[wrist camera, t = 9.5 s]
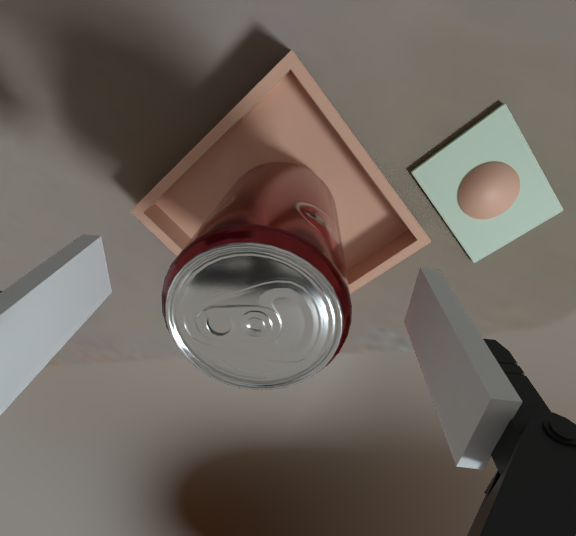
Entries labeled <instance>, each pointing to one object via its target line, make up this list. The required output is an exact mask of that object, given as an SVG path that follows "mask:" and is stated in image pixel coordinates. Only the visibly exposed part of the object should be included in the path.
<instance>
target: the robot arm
mask: <svg viewBox="0 0 576 536" xmlns="http://www.w3.org/2000/svg"><path fill="white" fill-rule="evenodd" d="M111 293H112V290H111V285H110V280H109V275H108V270H107V265H106V259H105V254H104V249H103V244H102V239H101V236H94V235H84V234H83V235H81V236H80V237H78V238H77V239H76V240H74V241H73V242H71V243H70V244H69V245H67V246H66V247H64V248H63V249H62V250H60V251H59V252H57V253H56V254H55V255H53V256H52V257H50V258H49V259H47V260H46V261H45V262H43V263H42V264H40V265H39V266H38V267H36V268H35V269H33V270H32V271H31V272H29V273H28V274H26V275H25V276H24V277H22V278H21V279H19V280H18V281H17V282H15V283H14V284H12V285H11V286H10V287H8V288H7V289H5V290H4V291H0V415H1V414H2V413H3V412H4V411H5V410H6V408H7V407H8V406H9V405H10V404H11V403H12V402H13V401H14V399H16V397H17V396H18V395H19V394H20V393H21V392H22V391H23V390H24V389H25V387H26V386H27V385H28V384H29V383H30V382H31V381H32V380H33V379H34V378H35V376H36V375H37V374H38V373H39V372H40V371H41V370H42V369H43V368H44V367H45V365H46V364H47V363H48V362H49V361H50V360H51V359H52V358H53V357H54V356H55V354H56V353H57V352H58V351H59V350H60V349H61V348H62V347H63V346H64V344H65V343H66V342H67V341H68V340H69V339H70V338H71V337H72V336H73V335H74V333H75V332H76V331H77V330H78V329H79V328H80V327H81V326H82V325H83V324H84V322H85V321H86V320H87V319H88V318H89V317H90V316H91V315H92V314H93V313H94V311H95V310H96V309H97V308H98V307H99V306H100V305H101V304H102V303H103V301H104V300H105V299H106V298H107V297H108V296H109V295H110V294H111ZM404 322H405V325H406V328H407V331H408V333H409V336H410V339H411V342H412V345H413V347H414V350H415V353H416V356H417V358H418V361H419V364H420V366H421V370H422V372H423V375H424V378H425V381H426V383H427V386H428V389H429V392H430V395H431V397H432V400H433V403H434V406H435V408H436V411H437V414H438V417H439V420H440V422H441V425H442V428H443V431H444V433H445V436H446V439H447V442H448V445H449V447H450V450H451V453H452V456H453V458H454V461H455V464H456V466H457V467H467V468H475V469H484V468H485V466H486V465H487V463H488V461H489V459H490V458H491V456H492V458H493V460H494V462H495V464H496V467H497V469H498V471H497V473H496V474H495V476H494V478H493V479H492V481H491V483H490V484H489V486H488V487H487V490H486V491H485V494H486V495H485V498H484V500H483V502H482V504H481V506H480V509H479V511H478V513H477V515H476V517H475V519H474V522H473V524H472V526H471V528H470V531H469V533H468V535H467V536H575V535H576V424H574V423H573V422H571V421H570V420H568V419H566V418H565V417H562V416H560V415H558V414H555V413H552V412H551V411H550V410H549V409H548V407H547V405H546V404H545V402H544V401H543V400H542V398H541V397H540V395H539V394H538V392H537V391H536V389H535V388H534V387H533V385H532V384H531V382H530V381H529V379H528V378H527V377H526V376H524V372H523V371H522V369H521V368H520V367H519V366H517V362H516V361H515V359H514V358H513V356H512V355H511V353H510V352H509V351H508V350H507V349H506V348H504V347H503V346H502V345H501V344H500V343H498V342H497V341H496V340H490V339H483V338H482V337H481V335H480V333H479V332H478V330H477V329H476V327H475V325H474V324H473V322H472V321H471V319H470V317H469V316H468V314H467V313H466V311H465V310H464V308H463V306H462V305H461V303H460V302H459V300H458V298H457V297H456V295H455V294H454V292H453V290H452V289H451V287H450V286H449V284H448V283H447V281H446V279H445V278H444V276H443V275H442V273H441V271H440V270H439V269H431V268H420V270H419V273H418V277H417V280H416V284H415V287H414V290H413V294H412V297H411V301H410V304H409V307H408V311H407V314H406V318H405V321H404Z"/></svg>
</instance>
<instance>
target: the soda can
mask: <svg viewBox="0 0 576 536" xmlns="http://www.w3.org/2000/svg"><path fill="white" fill-rule="evenodd" d="M162 312H163V316H164V319H165V323H166V327H167V329H168V331H169V333H170V335H171V337H172V339H173V340H174V342H175V344H176V346H177V347H178V349H179V350H180V351H181V353H182V354H183V355H184V356H185V358H186V359H187V360H188V361H190V362H191V363H192V364H193V365H194V366H195V367H196V368H198V369H199V370H200V371H202V372H204V373H205V374H207V375H208V376H210V377H212V378H214V379H216V380H218V381H220V382H223V383H225V384H229V385H232V386H236V387H239V388H245V389H252V390H273V389H279V388H285V387H289V386H292V385H295V384H298V383H300V382H302V381H304V380H306V379H308V378H310V377H312V376H314V375H315V374H316V373H318V372H319V371H321V370H322V369H323V368H324V367H326V366H327V365H328V364H329V363H330V362H331V361H332V360H333V359H334V358H335V357H336V355H337V354H338V353H339V352H340V350H341V348H342V346H343V344H344V342H345V340H346V338H347V336H348V333H349V329H350V325H351V316H352V305H351V298H350V292H349V285H348V279H347V272H346V266H345V259H344V253H343V246H342V240H341V233H340V227H339V220H338V214H337V208H336V204H335V200H334V198H333V196H332V194H331V191H330V190H329V188H328V187H327V186H326V184H325V183H324V181H322V180H321V179H320V178H319V177H318V176H317V175H316V174H315V173H313V172H312V171H310V170H308V169H307V168H305V167H302V166H299V165H297V164H294V163H288V162H270V163H266V164H262V165H258V166H256V167H255V168H253V169H251V170H249V171H247V172H246V173H245V174H244V175H242V176H241V177H240V178H239V179H238V180H237V181H236V183H235V184H234V185H233V186H232V188H231V189H230V190H229V192H228V193H227V194H226V195H225V197H224V198H223V199H222V200H221V202H220V203H219V204H218V205H217V207H216V208H215V209H214V211H213V212H212V213H211V214H210V216H209V217H208V218H207V219H206V221H205V222H204V223H203V225H202V226H201V227H200V228H199V230H198V231H197V232H196V233H195V235H194V236H193V237H192V239H191V240H190V241H189V242H188V244H187V245H186V246H185V247H184V249H183V250H182V251H181V252H180V254H179V255H178V256H177V258H176V259H175V260H174V261H173V263H172V264H171V266H170V268H169V270H168V273H167V275H166V277H165V280H164V285H163V290H162Z"/></svg>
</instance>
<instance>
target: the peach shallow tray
mask: <svg viewBox="0 0 576 536" xmlns="http://www.w3.org/2000/svg"><path fill="white" fill-rule="evenodd" d="M270 162H288V163H294V164H297V165H299V166H302V167H305V168H307V169H308V170H310V171H312V172H313V173H315V174H316V175H317V176H318V177H319V178H320V179H321V180H322V181H324V183H325V184H326V186H327V187H328V188H329V190H330V191H331V194H332V196H333V198H334V200H335V204H336V208H337V214H338V220H339V227H340V233H341V240H342V246H343V253H344V259H345V266H346V272H347V279H348V285H349V292H350V294H351V293H352V292H354V291H355V290H357V289H358V288H360V287H362V286H363V285H365V284H366V283H368V282H369V281H371V280H372V279H374V278H376V277H377V276H379V275H380V274H382V273H383V272H385V271H386V270H388V269H390V268H391V267H393V266H394V265H396V264H397V263H399V262H400V261H402V260H404V259H405V258H407V257H408V256H410V255H411V254H413V253H415V252H416V251H418V250H419V249H421V248H422V247H424V246H425V245H427V244H429V243H430V242H432V241H431V240H430V239H429V237H428V236H427V235H426V233H425V232H424V230H423V229H422V228H421V226H420V225H419V223H418V222H417V221H416V219H415V218H414V217H413V215H412V214H411V212H410V211H409V210H408V208H407V207H406V206H405V204H404V203H403V201H402V200H401V199H400V197H399V196H398V195H397V193H396V192H395V190H394V189H393V188H392V186H391V185H390V184H389V182H388V181H387V179H386V178H385V177H384V175H383V174H382V173H381V171H380V170H379V168H378V167H377V166H376V164H375V163H374V162H373V160H372V159H371V157H370V156H369V155H368V153H367V152H366V151H365V149H364V148H363V146H362V145H361V144H360V142H359V141H358V140H357V138H356V137H355V135H354V134H353V133H352V131H351V130H350V128H349V127H348V126H347V124H346V123H345V122H344V120H343V119H342V117H341V116H340V115H339V113H338V112H337V111H336V109H335V108H334V106H333V105H332V104H331V102H330V101H329V100H328V98H327V97H326V95H325V94H324V93H323V91H322V90H321V89H320V87H319V86H318V84H317V83H316V82H315V80H314V79H313V78H312V76H311V75H310V73H309V72H308V71H307V69H306V68H305V67H304V65H303V64H302V62H301V61H300V60H299V58H298V57H297V56H296V54H295V53H294V52H293V50H291V51H290V52H289V53H288V54H287V55H286V56H285V57H284V58H283V59H282V60H281V61H280V62H279V63H278V64H277V65H276V66H275V67H274V68H273V69H272V70H271V71H270V72H269V73H268V74H267V75H266V76H265V77H264V78H263V79H262V80H261V81H260V82H259V83H258V84H257V85H256V86H255V87H254V88H253V89H252V90H251V91H250V92H249V93H248V94H247V95H246V96H245V97H244V98H243V99H242V100H241V101H240V102H239V103H238V104H237V105H236V106H235V107H234V108H233V109H232V110H231V111H230V112H229V113H228V114H227V115H226V116H225V117H224V118H223V119H222V120H221V121H220V122H219V123H218V124H217V125H216V126H215V127H214V128H213V129H212V130H211V131H210V132H209V133H208V134H207V135H206V136H205V137H204V138H203V139H202V140H201V141H200V142H199V143H198V144H197V145H196V146H195V147H194V148H193V149H192V150H191V151H190V152H189V153H188V154H187V155H186V156H185V157H184V158H183V159H182V160H181V161H180V162H179V163H178V164H177V165H176V166H175V167H174V168H173V169H172V170H171V171H170V172H169V173H168V174H167V175H166V176H165V177H164V178H163V179H162V180H161V181H160V182H159V183H158V184H157V185H156V186H155V187H154V188H153V189H152V190H151V191H150V192H149V193H148V194H147V195H146V196H145V197H144V198H143V199H142V200H141V201H140V202H139V203H138V204H137V205H136V206H135V207H134V208H133V209H132V210H131V211H130V212H131V213H132V214H133V215H134V216H135V217H136V218H138V219H139V220H140V221H141V222H142V223H143V224H144V225H145V226H146V227H147V228H148V229H149V230H150V231H151V232H152V233H153V234H154V235H155V236H156V237H158V238H159V239H160V240H161V241H162V242H163V243H164V244H165V245H166V246H167V247H168V248H169V249H170V250H171V251H172V252H173V253H174V254H175V255H176V256H178V255H179V254H180V252H181V251H182V250H183V249H184V247H185V246H186V245H187V244H188V242H189V241H190V240H191V239H192V237H193V236H194V235H195V233H196V232H197V231H198V230H199V228H200V227H201V226H202V225H203V223H204V222H205V221H206V219H207V218H208V217H209V216H210V214H211V213H212V212H213V211H214V209H215V208H216V207H217V205H218V204H219V203H220V202H221V200H222V199H223V198H224V197H225V195H226V194H227V193H228V192H229V190H230V189H231V188H232V186H233V185H234V184H235V183H236V181H237V180H238V179H239V178H240V177H241V176H242V175H244V174H245V173H246V172H247V171H249V170H251V169H253V168H255V167H256V166H258V165H262V164H266V163H270Z"/></svg>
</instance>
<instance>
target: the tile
mask: <svg viewBox="0 0 576 536" xmlns="http://www.w3.org/2000/svg"><path fill="white" fill-rule="evenodd" d="M410 172H411V173H412V175H413V176H414V178H415V179H416V181H417V182H418V183H419V185H420V186H421V188H422V189H423V191H424V192H425V194H426V195H427V196H428V198H429V199H430V201H431V202H432V204H433V205H434V206H435V208H436V209H437V211H438V212H439V214H440V215H441V217H442V218H443V219H444V221H445V222H446V224H447V225H448V227H449V228H450V230H451V231H452V232H453V234H454V235H455V237H456V238H457V240H458V241H459V243H460V244H461V245H462V247H463V248H464V250H465V251H466V253H467V254H468V255H469V257H470V258H471V260H472V261H473V262H474V263H475V262H477V261H479V260H480V259H482V258H484V257H485V256H487V255H489V254H491V253H492V252H494V251H496V250H497V249H499V248H501V247H502V246H504V245H506V244H507V243H509V242H511V241H513V240H514V239H516V238H518V237H519V236H521V235H523V234H524V233H526V232H528V231H529V230H531V229H533V228H535V227H536V226H538V225H540V224H541V223H543V222H545V221H546V220H548V219H550V218H551V217H553V216H555V215H557V214H558V213H560V212H562V211H563V208H562V206H561V204H560V203H559V201H558V199H557V197H556V195H555V193H554V192H553V190H552V188H551V186H550V184H549V182H548V181H547V179H546V177H545V175H544V173H543V171H542V170H541V168H540V166H539V164H538V162H537V160H536V159H535V157H534V155H533V153H532V151H531V149H530V148H529V146H528V144H527V142H526V140H525V139H524V137H523V135H522V133H521V131H520V129H519V128H518V126H517V124H516V122H515V120H514V118H513V117H512V115H511V113H510V111H509V109H508V107H507V106H506V104H504V103H503V104H501V105H500V106H499V107H497V108H496V109H495V110H493V111H492V112H491V113H489V114H488V115H486V116H485V117H484V118H482V119H481V120H480V121H478V122H477V123H476V124H474V125H473V126H471V127H470V128H469V129H467V130H466V131H465V132H463V133H462V134H461V135H459V136H458V137H457V138H455V139H454V140H452V141H451V142H450V143H448V144H447V145H446V146H444V147H443V148H442V149H440V150H439V151H437V152H436V153H435V154H433V155H432V156H431V157H429V158H428V159H427V160H425V161H424V162H422V163H421V164H420V165H418V166H417V167H416V168H414V169H413V170H412V171H410Z"/></svg>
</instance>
